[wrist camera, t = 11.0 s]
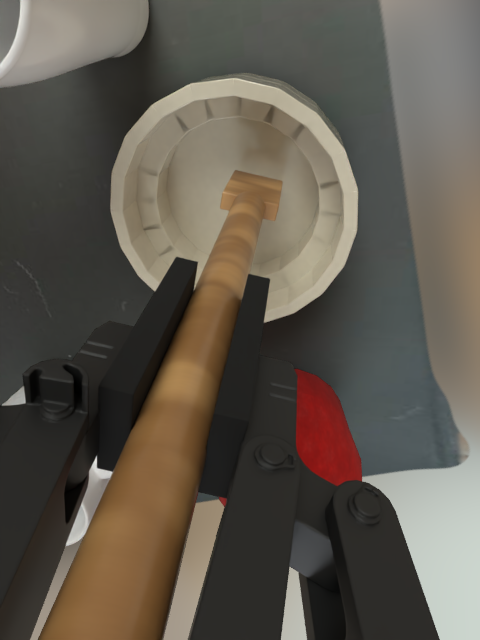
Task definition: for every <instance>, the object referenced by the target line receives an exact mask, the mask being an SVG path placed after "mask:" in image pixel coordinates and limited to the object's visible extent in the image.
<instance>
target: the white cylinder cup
mask: <svg viewBox="0 0 480 640" xmlns="http://www.w3.org/2000/svg"><path fill="white" fill-rule="evenodd" d="M148 19H149V2H148V0H0V88H7V87H14V86H21V85H27V84H32V83H36V82H40V81H44V80H47V79H50V78H53V77H56V76H59V75H62V74H65V73H68V72H70V71H73V70H76V69H79V68H82V67H84V66H87V65H90V64H93V63H96V62H99V61H102V60H105V59H109V58H117V57H121V56H124V55H126V54H128V53H130V52H131V51H132V50H133V49H135V48H136V47H137V45H138V44H139V43H140V41H141V40H142V38H143V36H144V34H145V31H146V28H147V25H148Z"/></svg>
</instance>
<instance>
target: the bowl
mask: <svg viewBox="0 0 480 640" xmlns="http://www.w3.org/2000/svg"><path fill="white" fill-rule="evenodd" d="M235 170H238V171H242V172H247V173H251V174H255V175H260V176H264V177H268V178H272V179H277V180H281V181H283V184H282V191H281V197H280V204H279V208H278V212H277V216H276V220H275V221H270V220H266V219H263V221H262V225H261V229H260V234H259V238H258V242H257V246H256V250H255V255H254V259H253V263H252V267H251V272H250V274H252V275H257V276H261V277H265V278H269V279H270V285H269V292H268V298H267V305H266V312H265V318H264V323H265V322H269V321H272V320H275V319H278V318H281V317H284V316H287V315H291V314H293V313H295V312H297V311H298V310H300V309H301V308H303V307H304V306H306V305H307V304H309V303H310V302H311V301H313V300H314V299H316V298H317V297H319V296H320V295H322V294H323V293H324V291H325V290H326V289H327V288H328V286H329V285H330V284H331V282H332V281H333V280H334V279H335V277H336V276H337V275H338V274H339V272H340V271H341V270H342V269H343V267H344V266H345V263H346V261H347V258H348V255H349V252H350V250H351V247H352V244H353V241H354V239H355V236H356V233H357V226H358V188H357V185H356V182H355V179H354V175H353V172H352V169H351V166H350V163H349V160H348V157H347V154H346V151H345V148H344V145H343V142H342V140H341V137H340V134H339V133H338V131H337V130H336V128H335V127H334V126H333V124H332V123H331V122H330V120H329V119H328V118H327V116H326V115H325V114H324V112H323V111H322V110H321V108H320V107H319V106H318V104H317V103H316V102H315V101H313V100H312V99H310V98H309V97H307V96H305V95H304V94H302V93H301V92H299V91H298V90H296V89H295V88H293V87H292V86H290V85H289V84H287V83H286V82H283V81H281V80H277V79H272V78H268V77H264V76H260V75H255V74H251V73H237V74H230V75H222V76H215V77H209V78H206V79H203V80H200V81H197V82H194V83H191V84H188V85H187V86H185V87H183V88H181V89H179V90H177V91H175V92H174V93H172V94H170V95H168V96H166V97H164V98H163V99H161V100H159V101H157V102H155V103H154V104H153V105H151V106H150V107H149V108H148V109H147V111H146V112H145V113H144V114H143V115H142V116H141V118H140V119H139V120H138V121H137V122H136V123H135V125H134V126H133V127H132V128H131V129H130V130H129V132H128V133H127V134H126V136H125V137H124V140H123V143H122V145H121V148H120V151H119V153H118V156H117V159H116V161H115V164H114V167H113V169H112V174H111V206H110V210H111V215H112V219H113V222H114V226H115V229H116V233H117V237H118V240H119V244H120V246H121V249H122V250H123V252H124V254H125V255H126V257H127V258H128V260H129V262H130V263H131V265H132V267H133V268H134V270H135V271H136V273H137V275H138V276H139V277H140V278H141V279H142V280H143V281H144V282H145V283H146V284H147V285H148V286H149V287H150V288H152V289H153V290H154V291H156V289H157V288H158V286H159V284H160V283H161V281H162V279H163V278H164V276H165V274H166V273H167V271H168V269H169V268H170V266H171V264H172V263H173V261H174V259H175V258H176V257H180V258H184V259H188V260H193V261H197V262H198V266H197V273H196V279H195V285H194V289H195V287H196V284H197V282H198V280H199V278H200V276H201V273H202V271H203V269H204V267H205V264H206V262H207V260H208V258H209V255H210V253H211V251H212V249H213V246H214V244H215V242H216V240H217V238H218V235H219V233H220V231H221V229H222V226H223V224H224V222H225V220H226V217H227V215H228V213H229V211H228V210H223V209H220V204H221V198H222V193H223V191H224V189H225V187H226V185H227V183H228V182H229V180H230V178H231V176H232V174H233V172H234V171H235Z"/></svg>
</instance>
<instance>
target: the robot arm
mask: <svg viewBox="0 0 480 640" xmlns="http://www.w3.org/2000/svg"><path fill="white" fill-rule="evenodd" d="M197 266H198V262H197V261H193V260H188V259H184V258H180V257H176V258H175V259H174V261H173V263H172V264H171V266H170V268H169V269H168V271H167V273H166V274H165V276H164V278H163V279H162V281H161V283H160V284H159V286H158V288H157V289H156V291H155V293H154V294H153V296H152V298H151V299H150V301H149V303H148V304H147V306H146V308H145V309H144V311H143V313H142V314H141V316H140V318H139V319H138V321H137V323H136V324H135V326H134V327H133V326H129V325H124V324H120V323H116V322H112V321H108V322H107V323H105V324H103V325H101V326H100V327H98V328H96V329H95V330H94V331H93V332H92V334H91V335H90V337H89V338H88V339H87V341H86V343H84V345H83V346H82V347H81V349H80V350H79V353H77V354H76V356H75V357H74V358H73V360H72V361H70V360H67V359H52V360H46V361H42V362H39V363H37V364H35V365H33V366H31V367H30V368H29V369H28V370H26V371H25V372H24V373H23V383H24V392H25V401H26V403H24V404H19V405H4V406H0V640H30V638H31V635H32V632H33V630H34V628H35V625H36V622H37V620H38V617H39V614H40V611H41V609H42V606H43V604H44V601H45V599H46V596H47V593H48V591H49V587H50V585H51V583H52V580H53V577H54V575H55V572H56V569H57V567H58V564H59V562H60V559H61V556H62V554H63V551H64V548H65V546H66V543H67V540H68V538H69V535H70V532H71V530H72V527H73V525H74V522H75V519H76V517H77V514H78V511H79V509H80V506H81V503H82V501H83V498H84V495H85V493H86V490H87V488H88V482H89V470H90V468H91V466H92V464H93V462H94V460H95V458H96V456H97V468H98V469H102V470H107V471H111V472H113V470H114V468H115V466H116V463H117V461H118V459H119V457H120V455H121V452H122V450H123V448H124V446H125V443H126V441H127V439H128V437H129V434H130V432H131V430H132V428H133V426H134V424H135V421H136V419H137V417H138V415H139V412H140V410H141V408H142V406H143V403H144V401H145V399H146V397H147V394H148V392H149V390H150V388H151V386H152V383H153V381H154V379H155V377H156V374H157V372H158V370H159V368H160V365H161V363H162V361H163V359H164V356H165V354H166V352H167V350H168V347H169V345H170V343H171V341H172V339H173V336H174V334H175V332H176V330H177V327H178V325H179V323H180V321H181V318H182V316H183V314H184V312H185V309H186V307H187V305H188V303H189V300H190V298H191V296H192V294H193V291H194V285H195V279H196V273H197ZM269 285H270V279H269V278H265V277H261V276H257V275H252V274H248V277H247V281H246V285H245V289H244V293H243V297H242V301H241V305H240V309H239V313H238V318H237V322H236V326H235V330H234V334H233V338H232V342H231V346H230V350H229V354H228V358H227V362H226V366H225V370H224V374H223V378H222V382H221V386H220V390H219V394H218V398H217V402H216V406H215V410H214V415H213V419H212V423H211V428H210V432H209V437H208V441H207V445H206V451H207V456H206V461H205V466H204V470H203V474H202V478H201V482H200V487H199V491H198V492H201V493H205V494H209V495H213V496H218V497H222V498H227V499H226V504H225V508H224V512H223V515H222V518H221V522H220V525H219V528H218V532H217V535H216V540H215V543H214V547H213V551H212V555H211V558H210V561H209V565H208V569H207V572H206V576H205V580H204V583H203V587H202V590H201V594H200V598H199V601H198V605H197V608H196V612H195V616H194V619H193V623H192V626H191V630H190V633H189V638H188V640H281V632H282V624H283V616H284V607H285V599H286V590H287V582H288V574H289V566H290V567H291V568H293V569H295V570H296V571H298V572H299V580H300V587H301V595H302V602H303V610H304V618H305V626H306V634H307V640H440V639H439V636H438V633H437V631H436V628H435V625H434V622H433V619H432V616H431V613H430V610H429V607H428V604H427V602H426V598H425V596H424V593H423V590H422V587H421V584H420V581H419V578H418V575H417V572H416V570H415V566H414V564H413V561H412V558H411V555H410V552H409V549H408V546H407V543H406V540H405V538H404V534H403V532H402V529H401V526H400V523H399V520H398V518H397V515H396V511H395V509H394V508H393V506H392V504H391V502H390V500H389V499H388V498H387V497H386V496H385V495H384V494H383V493H382V492H381V491H380V490H379V489H377V488H376V487H374V486H372V485H371V484H369V483H366V482H362V481H359V480H351V481H345V482H343V483H342V484H340V485H338V486H336V485H334V484H332V483H331V482H329V481H327V480H325V479H323V478H321V477H320V476H318V475H317V474H315V473H314V472H312V471H311V470H310V469H309V468H308V467H307V466H306V465H305V464H304V463H303V461H302V460H301V458H300V456H299V454H298V452H297V447H296V421H297V403H296V402H297V380H298V375H297V374H296V372H295V370H294V368H293V366H292V364H291V362H287V361H283V360H279V359H274V358H270V357H266V356H262V355H259V352H260V345H261V339H262V332H263V325H264V318H265V312H266V305H267V298H268V292H269Z"/></svg>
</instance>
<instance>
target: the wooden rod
mask: <svg viewBox="0 0 480 640" xmlns="http://www.w3.org/2000/svg"><path fill="white" fill-rule="evenodd" d="M282 184H283V181H281V180H277V179H272V178H268V177H264V176H260V175H255V174H251V173H247V172H242V171H238V170H235V171H234V172H233V174H232V176H231V178H230V180H229V182H228V183H227V185H226V187H225V189H224V191H223V193H222V198H221V204H220V209H223V210H228V211H229V213H228V215H227V217H226V220H225V222H224V224H223V226H222V229H221V231H220V233H219V235H218V238H217V240H216V242H215V244H214V246H213V249H212V251H211V253H210V255H209V258H208V260H207V262H206V264H205V267H204V269H203V271H202V273H201V276H200V278H199V280H198V282H197V284H196V287H195V289H194V291H193V294H192V296H191V298H190V300H189V303H188V305H187V307H186V309H185V312H184V314H183V316H182V318H181V321H180V323H179V325H178V327H177V330H176V332H175V334H174V336H173V339H172V341H171V343H170V345H169V347H168V350H167V352H166V354H165V356H164V359H163V361H162V363H161V365H160V368H159V370H158V372H157V374H156V377H155V379H154V381H153V383H152V386H151V388H150V390H149V392H148V394H147V397H146V399H145V401H144V403H143V406H142V408H141V410H140V412H139V415H138V417H137V419H136V421H135V424H134V426H133V428H132V430H131V432H130V434H129V437H128V439H127V441H126V443H125V446H124V448H123V450H122V452H121V455H120V457H119V459H118V461H117V463H116V466H115V468H114V470H113V472H112V475H111V477H110V479H109V481H108V484H107V486H106V488H105V490H104V493H103V495H102V497H101V499H100V502H99V504H98V506H97V508H96V510H95V513H94V515H93V517H92V519H91V522H90V524H89V526H88V528H87V531H86V533H85V535H84V537H83V540H82V542H81V544H80V546H79V549H78V551H77V553H76V555H75V557H74V560H73V562H72V564H71V566H70V569H69V571H68V573H67V576H66V578H65V580H64V582H63V584H62V587H61V589H60V591H59V593H58V596H57V598H56V600H55V602H54V604H53V607H52V609H51V611H50V613H49V616H48V618H47V620H46V623H45V625H44V627H43V629H42V631H41V634H40V636H39V638H38V640H163V638H164V634H165V630H166V626H167V621H168V617H169V613H170V609H171V605H172V600H173V596H174V592H175V588H176V584H177V579H178V575H179V571H180V567H181V563H182V558H183V554H184V549H185V546H186V541H187V537H188V533H189V529H190V524H191V520H192V516H193V512H194V507H195V504H196V499H197V495H198V491H199V487H200V482H201V478H202V474H203V470H204V466H205V461H206V456H207V451H206V445H207V441H208V437H209V432H210V428H211V423H212V419H213V415H214V410H215V406H216V402H217V398H218V394H219V390H220V386H221V382H222V378H223V374H224V370H225V366H226V362H227V358H228V354H229V350H230V346H231V342H232V338H233V334H234V330H235V326H236V322H237V318H238V313H239V309H240V305H241V301H242V297H243V293H244V289H245V285H246V281H247V277H248V274H250V272H251V267H252V263H253V259H254V255H255V250H256V246H257V242H258V238H259V234H260V229H261V225H262V221H263V219H266V220H270V221H275V220H276V216H277V212H278V208H279V204H280V197H281V191H282Z"/></svg>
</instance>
